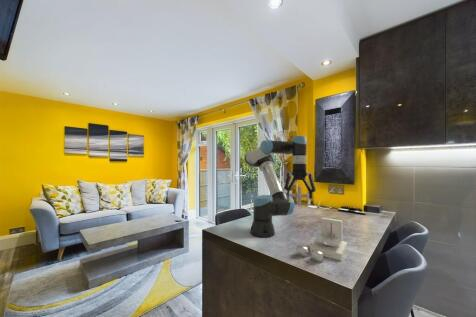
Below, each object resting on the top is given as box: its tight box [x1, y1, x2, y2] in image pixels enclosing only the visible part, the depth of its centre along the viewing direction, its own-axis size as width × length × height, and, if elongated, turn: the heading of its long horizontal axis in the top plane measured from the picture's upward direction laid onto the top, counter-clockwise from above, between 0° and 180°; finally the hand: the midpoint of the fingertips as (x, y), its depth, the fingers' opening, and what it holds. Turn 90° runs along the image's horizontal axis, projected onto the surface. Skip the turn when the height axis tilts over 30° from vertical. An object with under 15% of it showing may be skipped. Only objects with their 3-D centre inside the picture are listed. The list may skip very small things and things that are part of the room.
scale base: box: [309, 217, 348, 261], centre depth 102 cm, size 14×18×14 cm
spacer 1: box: [296, 244, 309, 258], centre depth 96 cm, size 5×5×4 cm
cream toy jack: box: [290, 186, 308, 206], centre depth 111 cm, size 10×10×10 cm
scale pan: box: [313, 233, 342, 247], centre depth 101 cm, size 11×11×1 cm
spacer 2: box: [311, 249, 324, 264], centre depth 91 cm, size 5×5×4 cm
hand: (299, 203), depth 111 cm, fingers closed on cream toy jack, 10 cm apart
